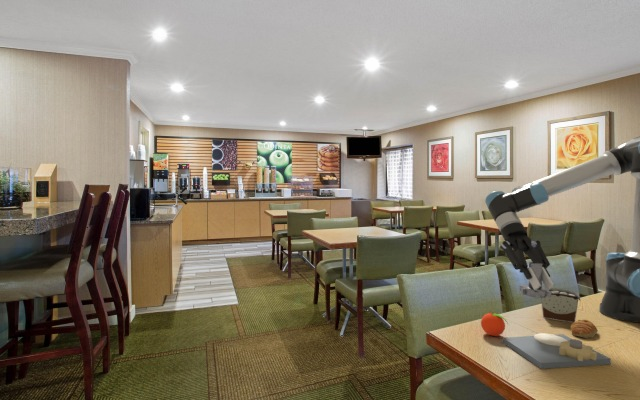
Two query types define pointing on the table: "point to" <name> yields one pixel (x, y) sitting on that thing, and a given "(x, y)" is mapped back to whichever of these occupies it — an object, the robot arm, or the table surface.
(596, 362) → the gear board
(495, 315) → the clementine
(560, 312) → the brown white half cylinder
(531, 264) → the gear
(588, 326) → the pastry
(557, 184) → the robot arm
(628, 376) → the table surface
